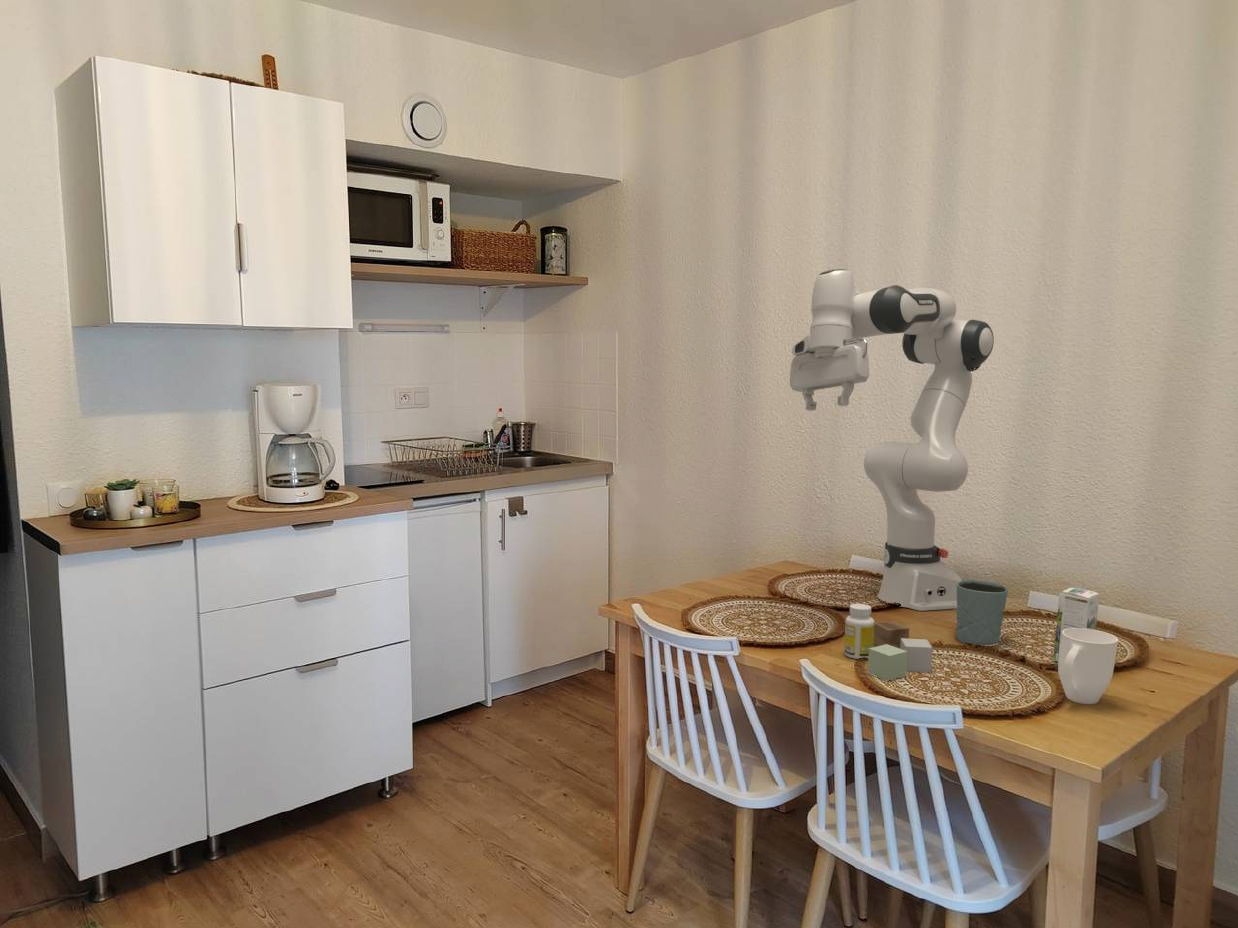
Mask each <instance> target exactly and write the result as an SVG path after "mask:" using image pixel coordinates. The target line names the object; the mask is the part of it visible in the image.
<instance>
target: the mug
mask: <svg viewBox="0 0 1238 928" xmlns="http://www.w3.org/2000/svg"><path fill="white" fill-rule="evenodd" d="M1118 642H1119V638H1118V637H1117V636H1116V635H1113V634H1112V633H1108V632H1105V631H1103V630H1098V629H1096V630H1093V629H1086V628H1069V629H1065V630H1063V631H1062V637H1061V644H1060V652H1059V661H1058V662H1057V663H1058V665H1057V672H1058V677H1059V679H1060V683H1061V685H1062V688H1063V691H1064V693H1065V697H1066V699H1068V700H1070V701H1072V702H1074V703H1078V704H1083V705H1096V704H1097V703H1099V701H1100V699H1101V698H1102V696H1104V695H1103V694H1104V693H1105V691H1106V689H1108V687H1109V685H1110V683H1111V681H1112V679H1113V674H1114V670H1115V663H1116V657H1117V651H1118Z"/></svg>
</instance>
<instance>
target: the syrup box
mask: <svg viewBox="0 0 1238 928" xmlns="http://www.w3.org/2000/svg"><path fill="white" fill-rule="evenodd" d="M1058 597H1059V598H1058V605H1057V617H1056V624H1055V625H1056V629H1055V639H1054V648H1053V649H1054V650H1053V659H1052V661H1053V660H1055V661H1059V652H1060V644H1061V637H1062V631H1063V630H1065V629H1069V628H1086V629H1093V630H1097V624H1098V613H1099V611H1098V610H1099V602H1100V593H1099V592H1096V591H1093V590H1090V589H1089V590H1088V589H1084V588H1079V587H1069V588H1066V589H1064V590H1063V591H1061V592H1059V595H1058Z"/></svg>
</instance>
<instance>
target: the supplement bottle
mask: <svg viewBox="0 0 1238 928" xmlns="http://www.w3.org/2000/svg"><path fill="white" fill-rule="evenodd" d="M849 614H850V615H848V616H846V618H845V631H844V633H845V634H844V655H845V656H847V657H848V658H851V659H854V660H855V659H856V660H860V659H859V658H862V657H866V658H869V648H873V647H874V623H875V620H874V618H873V617H871V615H872V607H871V606H870V605H869V604H863V603H852V604H850V605H849Z"/></svg>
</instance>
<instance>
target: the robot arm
mask: <svg viewBox="0 0 1238 928" xmlns="http://www.w3.org/2000/svg"><path fill="white" fill-rule="evenodd" d="M854 283H855V281H854V275H853V272H852V271H851V270H849V269H844V268H839V269H830V270H826V271H821V272H820V273H819V274H818V275H817V276H816V278H815V281H814V285H813V289H812V295H811V296H812V298H811V315H812V320H811V321H812V322H811V324H810V328H809V334H807V335H806V336H805V337H804V338H803V339H801V340H800V341H799V342H797V343H796V344H794V345H793V346H792V348H791V355H793V356H794V357H793V359H792V360H791V364H790V371H789V373H790V374H789V387H790V389H791V390H792V391H794V392H795V391H796V392H799V393H801V394H802V396H803V399H804V402H805V410H807V411H810V412H811V411H816V409H817V401H814V398H813V396H814V395H815V391H817V390H819V391H820V390H824V389H830V388H836V387H841V388H842V391H841V394H840V396H837V403H836V404H837V405H838V406H840V407H847V406H849V404H850V402H849V401H850V397H851V395H852V393H853V392H854V390H855V385H856V384H859V383H866V382H867V381H868V379H869V377H870V360H869V358H870V357H869V352H868V348H869V347H868V346H869V345H868V341H867V340H866V339H865V338H871V337H875V336H876V337H877V336H883V335H887V334H888V335H892V334H893V335H894V334H903V336H902V340H901V341H902V344H901V345H902V350H903V354H904V355H905V357H906V358H907V360H908V361H910V362H912V363H916V364H922V365H923V364H929V365H934V369H933V371H932V373H931V374H930V376H929V378H928V379H927V381H926V383H925V385H924V386H923V388H922V391H921V392H920V395H919V396H918V399H917V401H916V403H915V406H914V408H913V411H912V413H911V415H910V425H911V427H912V429H913V431H914V432H915V433H916V434H917V435H918V436H919V437H921V440H920V441H919V442H918V443H909V442H908V443H907V442H898V441H897V442H896V441H888V442H879V443H875V444H873V445H871V446H870V447H869V448H868V450H867V451H866V453H865V455H864V459H863V468H864V472H865V475H867V477H868V479H869V480H870V481H871V482H873V484H874V485H875V487H876V488H877V489H878V491H879V493H880V494H881V497H882V498H883V503H884V505H885V508H886V518H887V519H886V520H887V526H886V527H887V533H886V534H887V535H886V542H885V543H884V551H883V562H884V563H883V565H884V569H883V576H882V580H881V583H880V584H881V585H880V589H879V591H878V594H877V596H878V597H879V598H880V599H882V600H885V601H889V602H896V603H900V604H901V606H900V607H902V608H908V609H912V610H916V611H922V612H924V611H938V610H952V609H957V588H956V584H957V583H958V582H960V581H963V579H962V578H961V577H960V575H958V574H957V573H956V572H954V570H953V569H951V568H950V567H949V566H948V565H946V564H945V563H944V562H943V561H941V558H943V559H947V558H948V557H949V554H950V552H949V551H948V550H947V549H945V548H940V547H938V546H937V545H935V531H936V516H935V513H934V511H933V510H932V509H931V508H930V507H929V506H928V505H926V504H925V503H923V501H922V500H921V499H920V497H919V495H918V492H917V490H918V491H927V492H933V493H934V492H935V493H940V492H951V491H957V490H958V489H960V487H962V485H964V484H965V482H966V479H967V477H968V474H969V466H968V462H967V459H966V457H965V455H964V454H963V453H962V452H961V451H960V450H959V448H958V446H957V444H956V432H957V431H958V430H957V429H958V426H959V424H960V421H961V419H962V418H961V417H962V416H963V413H964V411H965V408H966V406H967V404H968V401H969V398H970V393H971V388H972V384H973V375H972V372H975V371H977V370H978V369H979V368H980V367H981V366H982V364H983V363H985V362H986V361H987V359H988V358H989V356H990V355H991V353H992V351H993V347H994V342H995V341H994V339H995V338H994V332H993V329H992V328H991V326H990V324H988V323H987V322H985V321H982V320H978V319H970V320H967V319H966V320H965V319H955V317H956V315H957V303H956V301H955V299H954V297H953V296H952V295H951V294H949V292H947V291H944V290H941V289H938V288H934V287H933V288H931V287H914V288H910V289H906V288H904V287H902V286H901V285H897V284H896V285H895V284H894V285H891V286H887V287H883V288H880V289H876V290H870V291H866V292H860V291H859V290H858V289H857V287H856V286H855V284H854ZM878 597H877V598H878Z"/></svg>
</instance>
